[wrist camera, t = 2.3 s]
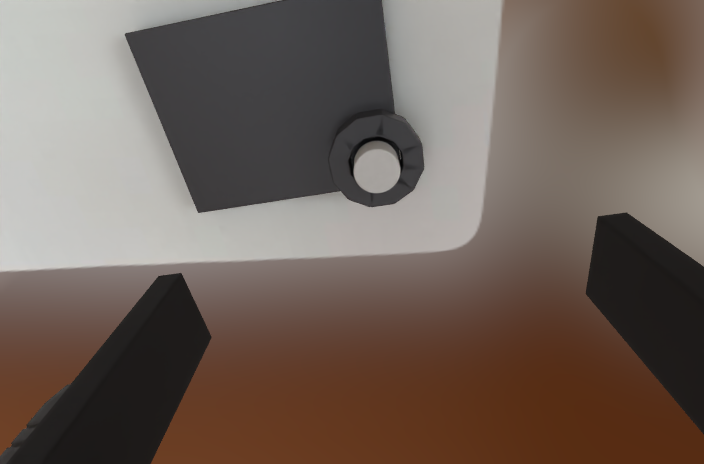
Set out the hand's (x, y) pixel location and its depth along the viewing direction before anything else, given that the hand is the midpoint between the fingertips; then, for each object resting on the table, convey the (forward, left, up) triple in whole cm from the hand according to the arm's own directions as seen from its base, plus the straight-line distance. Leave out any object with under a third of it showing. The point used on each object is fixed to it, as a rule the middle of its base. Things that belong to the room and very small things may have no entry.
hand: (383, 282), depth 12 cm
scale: (+5, -3, -15) cm, 16 cm away
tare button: (0, 0, -12) cm, 12 cm away
